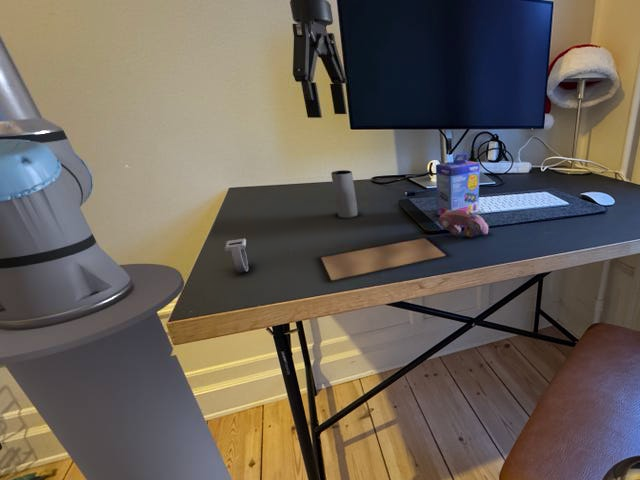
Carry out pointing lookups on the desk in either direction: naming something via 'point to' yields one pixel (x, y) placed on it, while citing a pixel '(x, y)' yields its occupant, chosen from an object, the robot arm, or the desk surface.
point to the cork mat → (379, 258)
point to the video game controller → (463, 222)
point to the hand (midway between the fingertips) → (328, 115)
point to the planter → (344, 193)
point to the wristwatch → (238, 254)
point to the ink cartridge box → (457, 185)
